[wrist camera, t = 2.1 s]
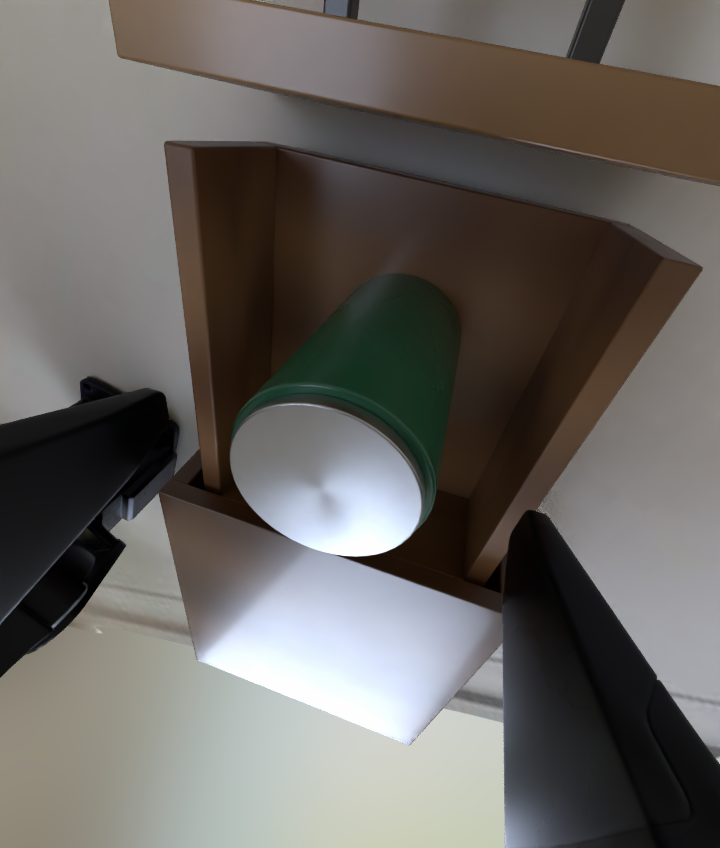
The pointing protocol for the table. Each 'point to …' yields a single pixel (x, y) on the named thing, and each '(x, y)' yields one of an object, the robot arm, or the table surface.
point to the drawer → (425, 235)
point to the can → (354, 422)
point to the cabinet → (325, 615)
